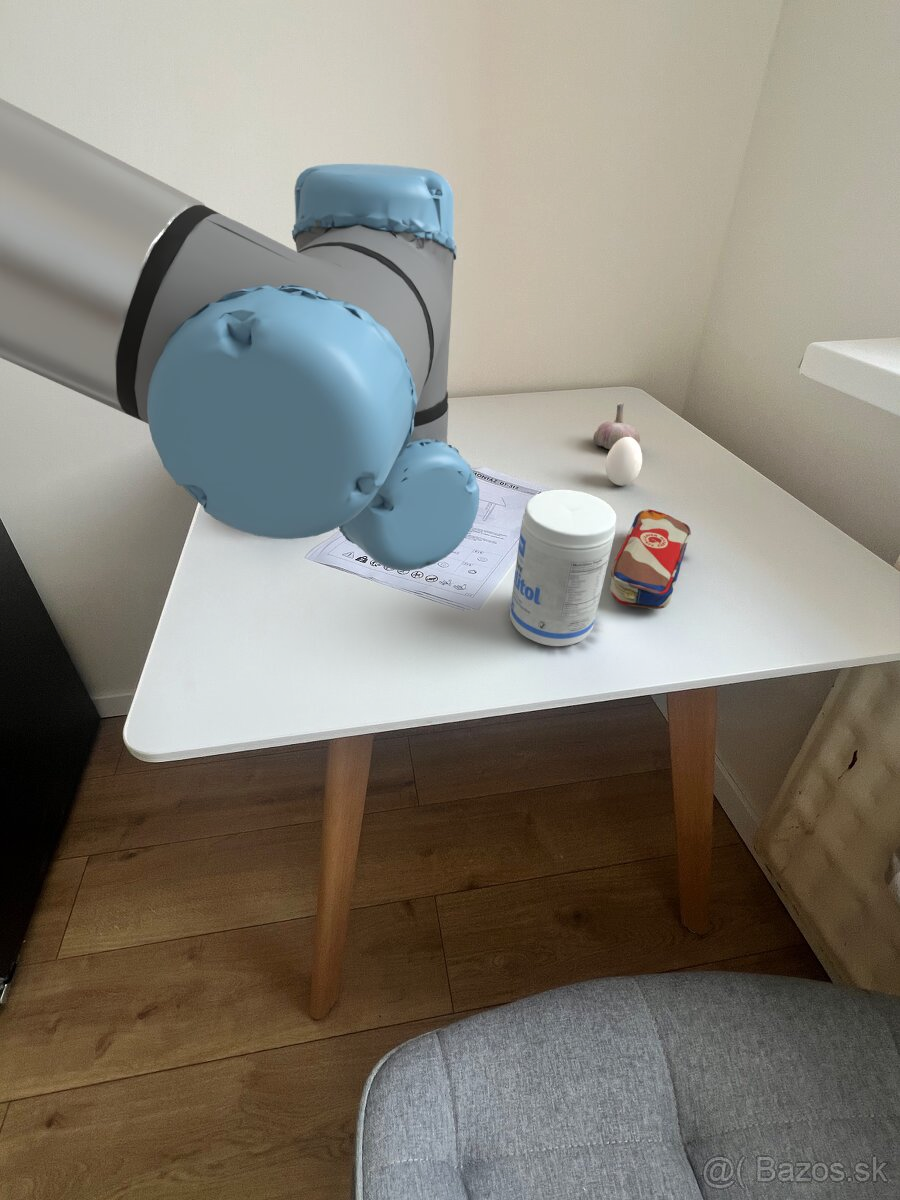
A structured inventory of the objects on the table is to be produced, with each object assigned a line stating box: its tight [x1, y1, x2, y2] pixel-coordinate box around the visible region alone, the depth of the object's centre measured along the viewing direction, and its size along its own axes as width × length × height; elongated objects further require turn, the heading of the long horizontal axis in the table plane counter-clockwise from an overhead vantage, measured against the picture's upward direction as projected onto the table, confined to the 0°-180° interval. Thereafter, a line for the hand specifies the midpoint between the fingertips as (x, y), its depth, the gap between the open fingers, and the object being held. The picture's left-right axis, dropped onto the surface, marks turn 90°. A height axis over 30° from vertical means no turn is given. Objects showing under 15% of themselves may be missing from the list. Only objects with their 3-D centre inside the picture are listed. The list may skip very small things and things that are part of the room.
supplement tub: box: [509, 489, 617, 647], centre depth 75 cm, size 10×10×15 cm
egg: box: [605, 437, 643, 486], centre depth 106 cm, size 5×5×8 cm
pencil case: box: [609, 508, 692, 610], centre depth 87 cm, size 11×20×5 cm, turn 142°
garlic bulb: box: [592, 401, 641, 451], centre depth 117 cm, size 8×7×8 cm
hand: (213, 331), depth 63 cm, fingers closed on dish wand, 3 cm apart
